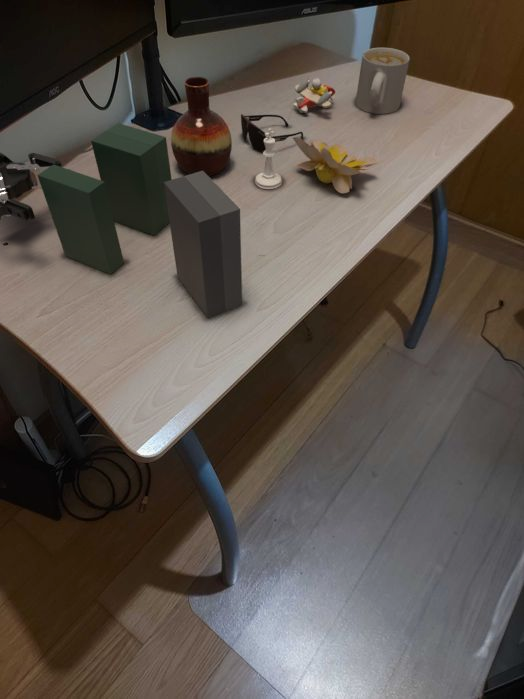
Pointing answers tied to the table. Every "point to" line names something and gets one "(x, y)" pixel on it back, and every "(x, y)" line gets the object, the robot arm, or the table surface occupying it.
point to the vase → (200, 133)
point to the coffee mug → (382, 80)
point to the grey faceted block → (205, 241)
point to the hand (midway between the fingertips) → (53, 199)
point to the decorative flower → (332, 163)
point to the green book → (82, 217)
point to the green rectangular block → (134, 176)
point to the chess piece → (268, 166)
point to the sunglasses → (260, 131)
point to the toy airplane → (313, 95)
